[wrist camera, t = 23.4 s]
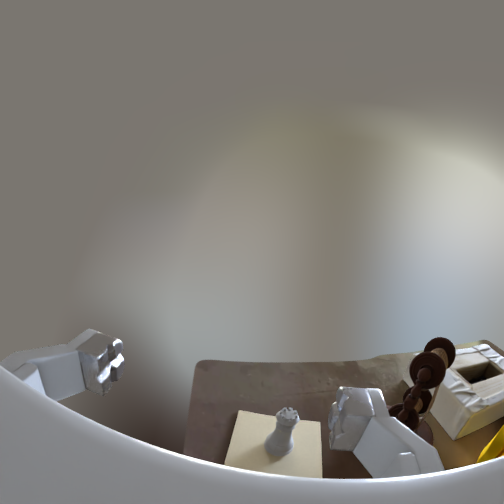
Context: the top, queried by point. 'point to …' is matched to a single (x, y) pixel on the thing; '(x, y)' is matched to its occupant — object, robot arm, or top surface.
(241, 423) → the linen mat
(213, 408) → the top surface
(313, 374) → the top surface
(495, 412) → the box
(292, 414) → the rook chess piece
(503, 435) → the yellow coat with case
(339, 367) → the top surface
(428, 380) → the scroll
